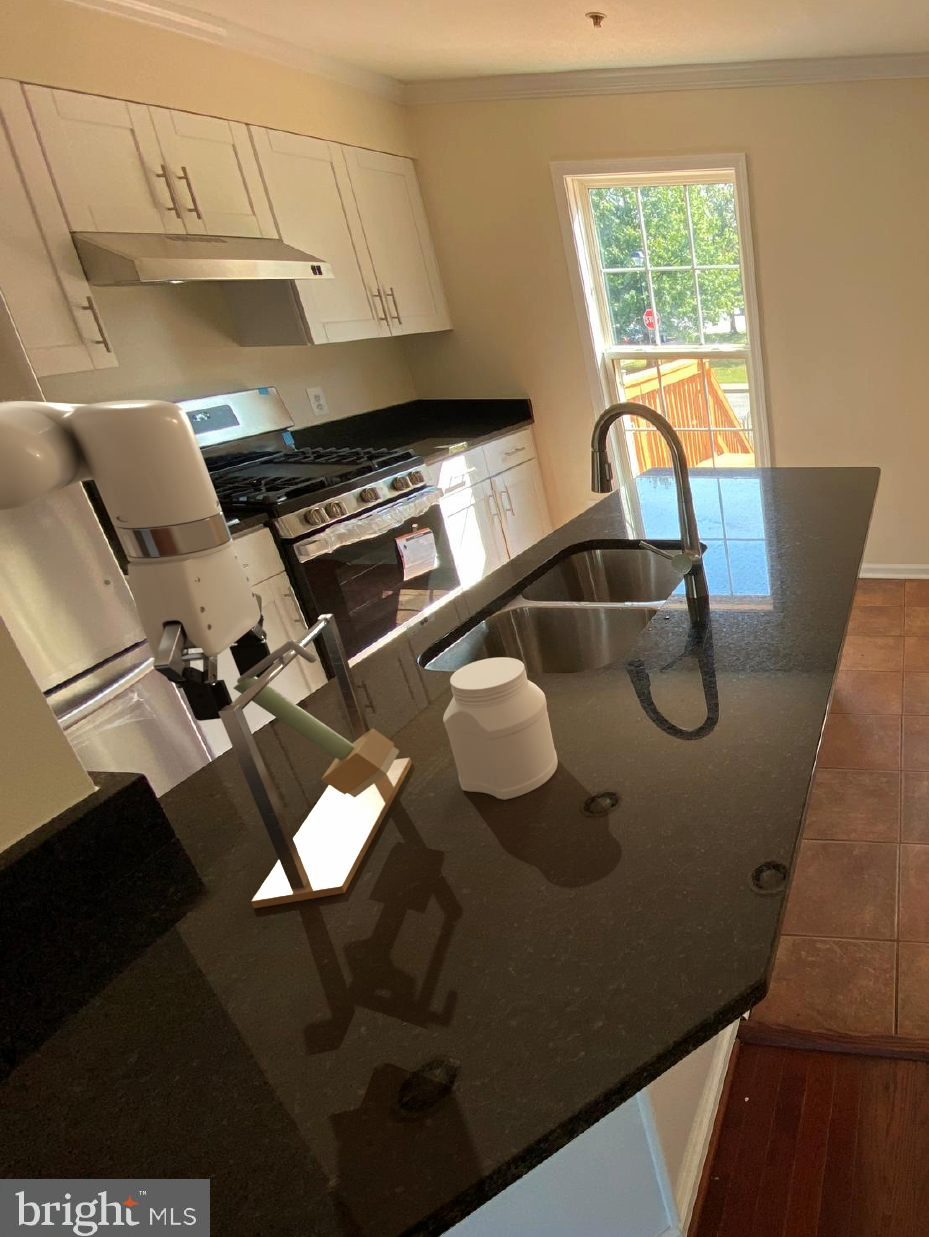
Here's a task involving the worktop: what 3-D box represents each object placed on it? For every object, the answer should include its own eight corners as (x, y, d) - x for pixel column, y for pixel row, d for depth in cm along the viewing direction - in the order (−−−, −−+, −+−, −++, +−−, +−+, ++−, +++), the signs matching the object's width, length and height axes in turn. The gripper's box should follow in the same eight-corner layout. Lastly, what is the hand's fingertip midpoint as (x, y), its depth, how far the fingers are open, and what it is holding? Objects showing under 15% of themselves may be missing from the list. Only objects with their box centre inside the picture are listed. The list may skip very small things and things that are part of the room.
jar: (445, 786, 88) (417, 684, 82) (501, 745, 96) (479, 649, 90) (521, 804, 85) (497, 699, 79) (571, 759, 93) (553, 661, 87)
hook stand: (352, 800, 78) (205, 704, 70) (368, 773, 82) (232, 680, 74) (418, 750, 77) (279, 649, 69) (431, 726, 82) (301, 628, 74)
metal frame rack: (253, 909, 70) (169, 719, 61) (343, 772, 90) (289, 615, 81) (344, 893, 72) (275, 707, 63) (412, 763, 92) (367, 609, 83)
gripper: (184, 514, 72) (240, 662, 79) (58, 570, 57) (142, 748, 64) (268, 510, 74) (316, 655, 81) (168, 563, 59) (238, 737, 66)
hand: (239, 695), depth 72 cm, fingers open, 7 cm apart
